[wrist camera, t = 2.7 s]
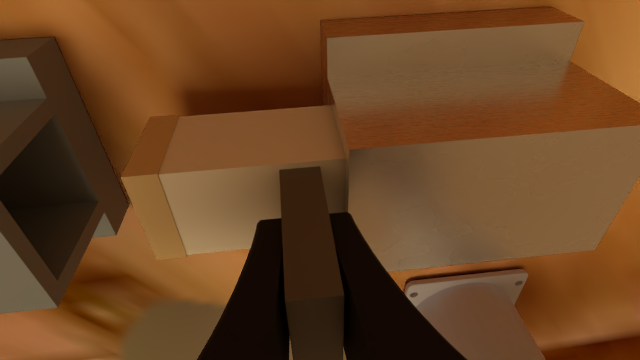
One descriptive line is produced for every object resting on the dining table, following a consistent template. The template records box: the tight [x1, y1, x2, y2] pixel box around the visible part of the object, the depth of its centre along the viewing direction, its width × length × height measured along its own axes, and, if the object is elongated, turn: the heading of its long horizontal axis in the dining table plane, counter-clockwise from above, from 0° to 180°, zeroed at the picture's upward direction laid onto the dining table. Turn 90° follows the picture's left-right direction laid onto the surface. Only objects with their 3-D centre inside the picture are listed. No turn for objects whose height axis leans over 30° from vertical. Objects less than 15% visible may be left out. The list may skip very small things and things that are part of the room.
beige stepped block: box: [320, 7, 640, 272], centre depth 15 cm, size 9×8×7 cm
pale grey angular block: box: [121, 105, 346, 360], centre depth 12 cm, size 14×4×8 cm, turn 92°
